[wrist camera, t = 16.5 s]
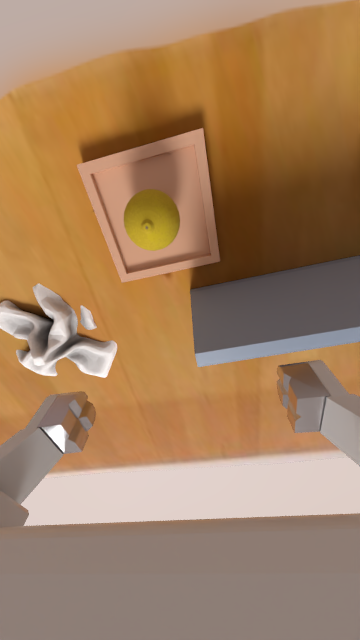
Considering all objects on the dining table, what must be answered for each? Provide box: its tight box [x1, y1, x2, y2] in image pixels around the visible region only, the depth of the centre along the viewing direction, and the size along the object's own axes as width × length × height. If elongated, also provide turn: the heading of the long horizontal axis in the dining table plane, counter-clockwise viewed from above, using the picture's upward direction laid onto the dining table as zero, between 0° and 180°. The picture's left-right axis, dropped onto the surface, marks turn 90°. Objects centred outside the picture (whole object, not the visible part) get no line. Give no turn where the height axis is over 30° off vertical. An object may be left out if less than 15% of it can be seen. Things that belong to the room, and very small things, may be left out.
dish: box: [77, 128, 220, 283], centre depth 25 cm, size 13×13×2 cm
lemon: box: [124, 189, 180, 251], centre depth 22 cm, size 6×6×8 cm
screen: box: [190, 255, 360, 367], centre depth 25 cm, size 24×5×14 cm, turn 103°
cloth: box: [0, 283, 117, 378], centre depth 33 cm, size 22×19×6 cm
